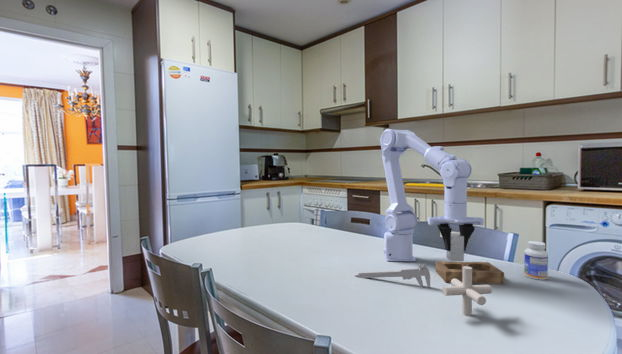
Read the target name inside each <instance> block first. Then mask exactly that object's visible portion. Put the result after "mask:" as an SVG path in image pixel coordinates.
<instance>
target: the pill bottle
mask: <svg viewBox="0 0 622 354" xmlns="http://www.w3.org/2000/svg"><path fill="white" fill-rule="evenodd" d="M527 247H528V248H525V249H524V260H523V261H524V263H523V264H524V265H523V267H524V268H523V270H524V273H523V274H524V276H525V277H527V278H530V279H532V278H533V280H538V279H539V280H541V281H543V280H544V281H546V280H547V279H548V276H549V275H548V274H549V273H548V271H549V253H548V251H546V243H545V242H542V241H536V240H529V241H528V242H527ZM539 280H538V281H539Z"/></svg>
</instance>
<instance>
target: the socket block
mask: <svg viewBox="0 0 622 354" xmlns="http://www.w3.org/2000/svg"><path fill="white" fill-rule="evenodd" d="M463 266H468V267H471V268H472V284H489V285H490V284H491V285H492V284H495V285H496V284H498V285H499V284H502V285H505V272H504V271H502V270H501V269H499V268H498V267H497V266H495V265H493V264H492V263H490V262H488V261H486V262H485V261H438V260H437V261H435V272H436V274H437V275H438V276H439V277H440V278H441V279H442V280H443V281H444V282H445V284H446V283H448V284H451V280H452V279H454V278H456V279H458V280H459V281H461V282H462V280H463Z"/></svg>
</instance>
